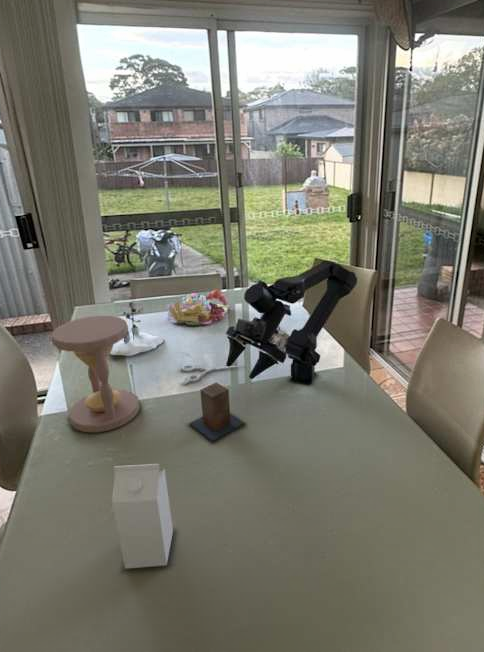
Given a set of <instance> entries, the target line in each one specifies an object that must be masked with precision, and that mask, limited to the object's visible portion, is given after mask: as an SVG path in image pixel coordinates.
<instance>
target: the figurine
mask: <svg viewBox="0 0 484 652" xmlns="http://www.w3.org/2000/svg"><path fill="white" fill-rule="evenodd" d="M128 307H129V308H130V312H127V311H122V313H123V314H121V316H125V319H128V320H131V322H132V324H131V325H132V327H131V328H130V330H128V333H127V335H126V336H125V337H124V338H123V339H122V340H120V341H119V342H117V343H115V344H113V348H112V351H111V353H110V355H112V356H127V357H128V356H134V355H137V354H139V353H145V352H149V351H150V350H152V349H156V348H157V347H158V346H159V345H161V344H162V343H163V342H164V339H162V338H161V337H160V336H159V335H152V334H149V333H145V332H140V329H139V327H138V326H137V325H136V324H135V323H141V320H140V319H138V320H135V319H134V316H135V315H137V314H141V313H142V311H143V309H144V308H141V309H139V310H137V309H136V304H134V302H133V301H129V302H128ZM130 332H131V334H130Z"/></svg>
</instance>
